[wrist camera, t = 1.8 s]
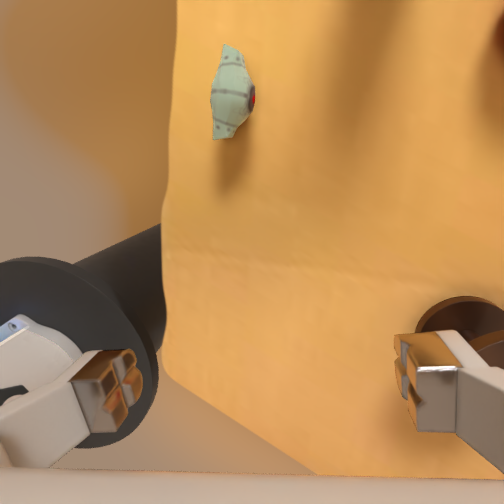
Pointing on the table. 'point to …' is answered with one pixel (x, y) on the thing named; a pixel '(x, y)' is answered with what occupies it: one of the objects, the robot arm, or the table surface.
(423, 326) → the brown round base
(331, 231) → the table surface
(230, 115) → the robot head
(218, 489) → the robot arm
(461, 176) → the table surface
